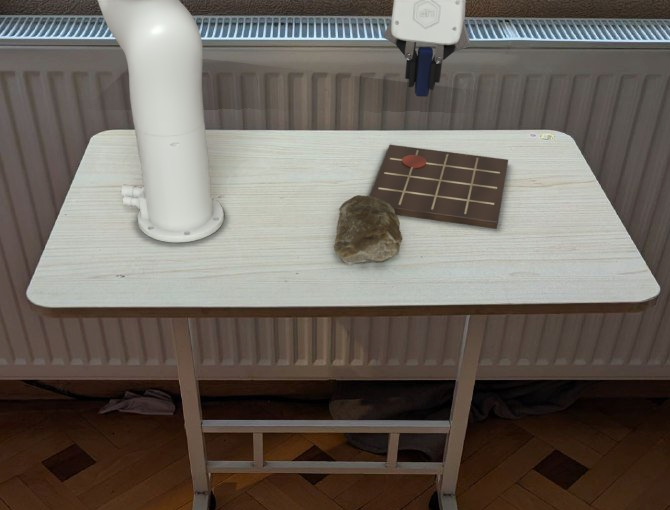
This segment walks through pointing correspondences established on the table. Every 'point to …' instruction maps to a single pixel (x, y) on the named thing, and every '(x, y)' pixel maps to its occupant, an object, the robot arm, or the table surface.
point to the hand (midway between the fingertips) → (422, 84)
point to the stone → (367, 231)
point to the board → (442, 185)
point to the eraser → (423, 71)
